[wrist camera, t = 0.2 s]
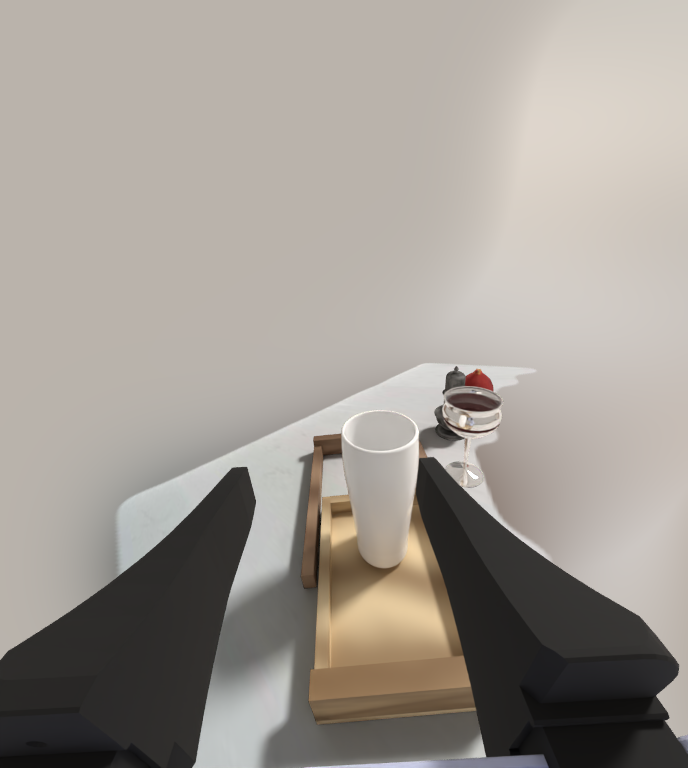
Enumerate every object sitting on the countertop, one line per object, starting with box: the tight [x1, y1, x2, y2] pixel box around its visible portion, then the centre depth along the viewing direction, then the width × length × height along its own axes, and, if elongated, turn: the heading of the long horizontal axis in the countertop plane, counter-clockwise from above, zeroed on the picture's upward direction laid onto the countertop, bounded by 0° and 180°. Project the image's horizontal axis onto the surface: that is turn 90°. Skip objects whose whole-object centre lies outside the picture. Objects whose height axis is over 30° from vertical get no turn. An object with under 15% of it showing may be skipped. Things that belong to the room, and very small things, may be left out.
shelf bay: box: [301, 434, 427, 588], centre depth 37 cm, size 21×17×3 cm
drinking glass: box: [341, 410, 419, 568], centre depth 27 cm, size 7×7×15 cm
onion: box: [465, 369, 493, 391], centre depth 53 cm, size 6×6×8 cm
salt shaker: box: [434, 366, 466, 440], centre depth 46 cm, size 6×6×12 cm
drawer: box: [309, 489, 476, 725], centre depth 27 cm, size 18×13×4 cm
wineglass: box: [442, 386, 503, 487], centre depth 37 cm, size 7×7×12 cm
